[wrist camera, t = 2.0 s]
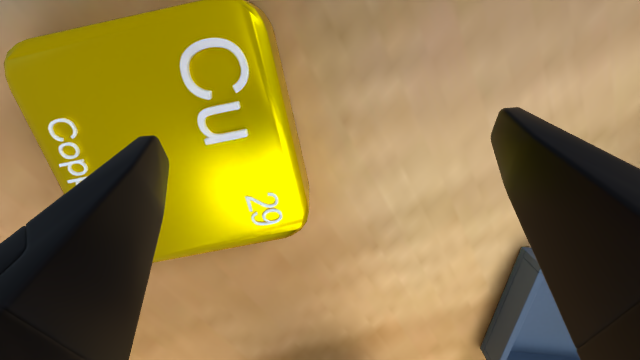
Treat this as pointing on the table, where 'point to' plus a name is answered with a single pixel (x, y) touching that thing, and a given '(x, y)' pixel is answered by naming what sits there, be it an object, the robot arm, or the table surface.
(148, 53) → the element tile
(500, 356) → the tray
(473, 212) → the table surface
